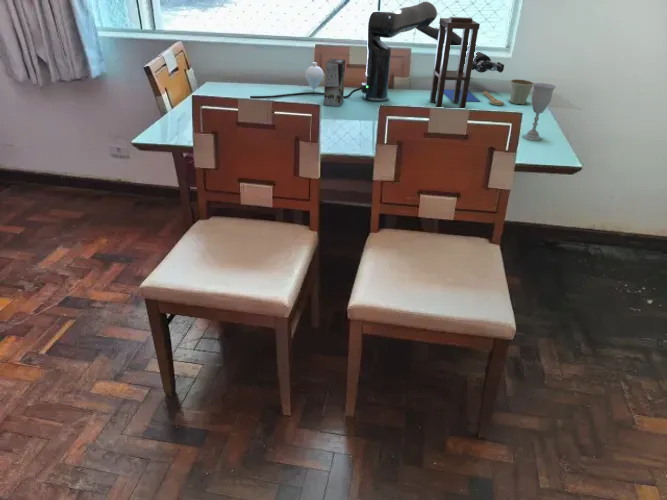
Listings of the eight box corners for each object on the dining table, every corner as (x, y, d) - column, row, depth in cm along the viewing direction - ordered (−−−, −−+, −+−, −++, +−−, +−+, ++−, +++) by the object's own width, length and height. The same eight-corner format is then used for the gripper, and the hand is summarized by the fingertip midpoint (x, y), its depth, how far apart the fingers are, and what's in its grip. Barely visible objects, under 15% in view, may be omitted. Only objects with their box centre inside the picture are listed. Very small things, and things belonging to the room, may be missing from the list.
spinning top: (302, 93, 231) (303, 63, 225) (307, 89, 238) (308, 59, 232) (320, 95, 230) (321, 65, 224) (325, 90, 237) (326, 61, 231)
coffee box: (339, 106, 217) (341, 63, 208) (323, 105, 217) (324, 62, 209) (343, 100, 224) (346, 59, 216) (328, 99, 225) (329, 57, 217)
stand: (435, 109, 220) (448, 19, 203) (428, 101, 230) (440, 14, 213) (465, 110, 221) (480, 20, 204) (457, 101, 231) (470, 15, 215)
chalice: (538, 135, 197) (551, 83, 188) (545, 141, 191) (559, 88, 182) (518, 134, 196) (529, 82, 187) (525, 140, 191) (537, 87, 182)
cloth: (451, 101, 232) (451, 100, 232) (441, 90, 247) (441, 89, 247) (479, 101, 233) (479, 101, 233) (467, 90, 248) (467, 90, 248)
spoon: (478, 93, 244) (482, 82, 241) (490, 94, 245) (494, 84, 242) (488, 113, 231) (493, 102, 227) (501, 115, 231) (506, 104, 228)
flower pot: (529, 101, 237) (533, 80, 233) (529, 106, 230) (534, 85, 225) (506, 98, 239) (510, 78, 235) (506, 104, 232) (510, 83, 227)
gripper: (493, 71, 252) (506, 79, 238) (462, 70, 251) (473, 78, 237) (496, 53, 248) (509, 61, 234) (465, 52, 247) (476, 60, 233)
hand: (491, 69), depth 236 cm, fingers open, 8 cm apart
